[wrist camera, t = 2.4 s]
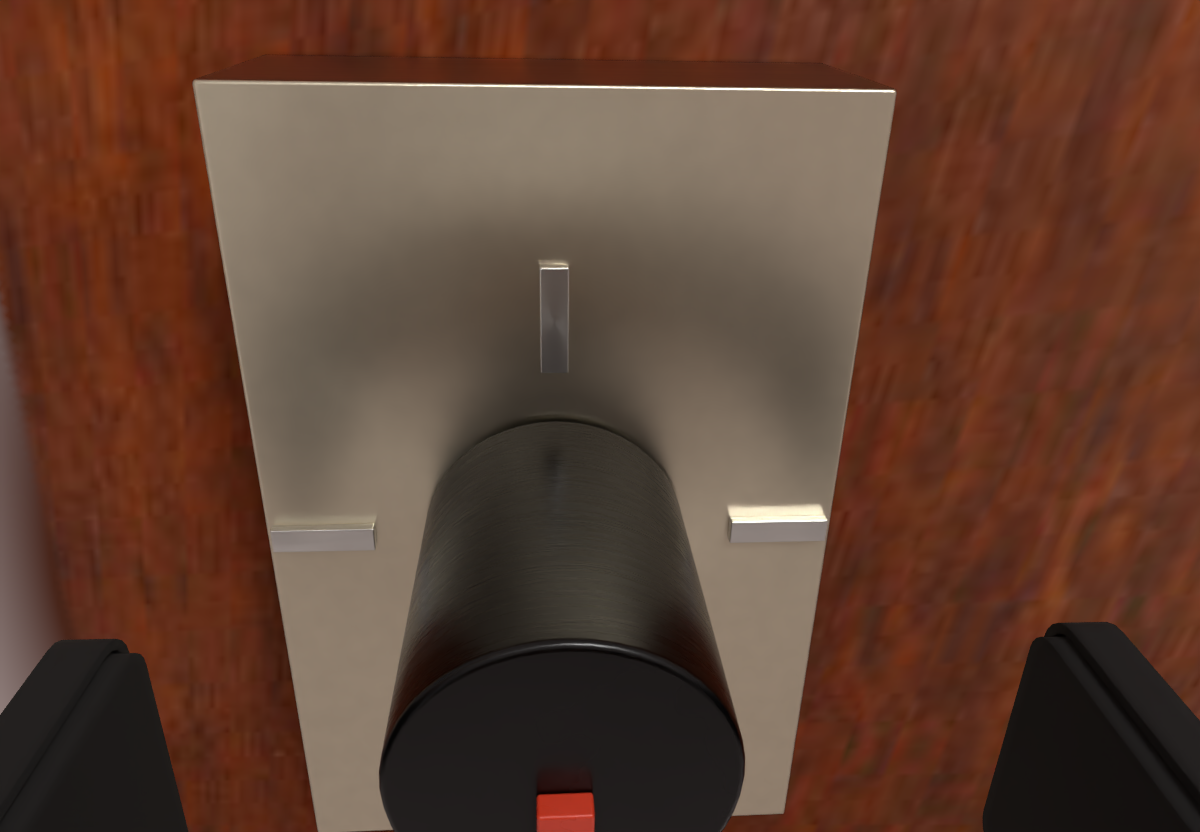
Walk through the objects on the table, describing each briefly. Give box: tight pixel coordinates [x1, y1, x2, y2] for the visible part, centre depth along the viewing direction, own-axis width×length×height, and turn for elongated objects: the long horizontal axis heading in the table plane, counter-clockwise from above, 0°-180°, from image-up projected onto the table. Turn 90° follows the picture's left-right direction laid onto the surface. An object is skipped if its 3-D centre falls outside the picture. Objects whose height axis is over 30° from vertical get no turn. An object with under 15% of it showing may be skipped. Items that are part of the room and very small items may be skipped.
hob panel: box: [192, 55, 896, 832], centre depth 14 cm, size 12×8×3 cm, turn 179°
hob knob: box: [379, 421, 745, 832], centre depth 11 cm, size 4×4×5 cm
